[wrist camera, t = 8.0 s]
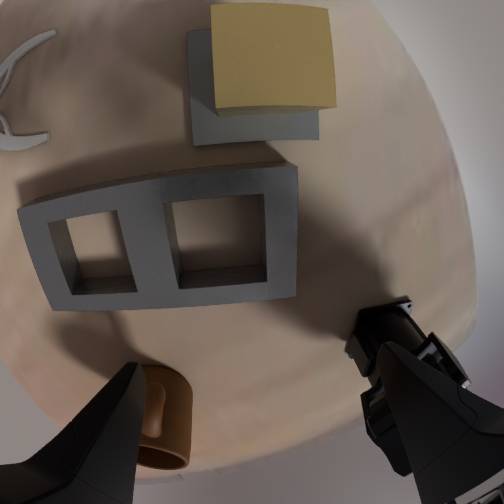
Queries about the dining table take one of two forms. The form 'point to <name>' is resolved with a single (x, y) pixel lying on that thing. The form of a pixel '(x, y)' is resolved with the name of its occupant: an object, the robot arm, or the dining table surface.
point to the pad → (234, 127)
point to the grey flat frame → (165, 240)
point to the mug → (166, 420)
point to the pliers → (4, 139)
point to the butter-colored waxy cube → (271, 59)
